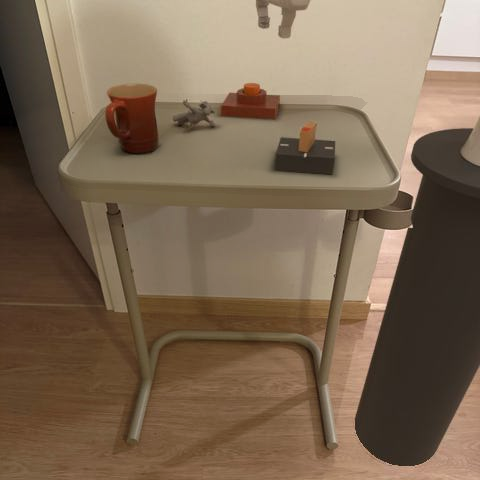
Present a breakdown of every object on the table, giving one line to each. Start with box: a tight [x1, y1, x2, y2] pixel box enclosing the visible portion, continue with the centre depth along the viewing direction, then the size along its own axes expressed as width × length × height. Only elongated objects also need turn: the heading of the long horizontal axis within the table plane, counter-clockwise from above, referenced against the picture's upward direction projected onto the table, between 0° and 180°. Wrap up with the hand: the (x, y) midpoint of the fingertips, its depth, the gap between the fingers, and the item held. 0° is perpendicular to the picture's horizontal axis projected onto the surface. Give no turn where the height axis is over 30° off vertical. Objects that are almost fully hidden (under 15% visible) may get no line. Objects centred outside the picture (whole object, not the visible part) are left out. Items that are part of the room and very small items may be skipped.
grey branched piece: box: [172, 97, 217, 132], centre depth 95 cm, size 10×6×9 cm
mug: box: [104, 83, 159, 155], centre depth 84 cm, size 12×9×10 cm
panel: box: [274, 136, 336, 176], centre depth 83 cm, size 10×9×3 cm
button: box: [243, 82, 261, 94], centre depth 103 cm, size 4×4×2 cm
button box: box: [220, 87, 281, 120], centre depth 105 cm, size 12×10×4 cm
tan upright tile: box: [298, 121, 317, 152], centre depth 80 cm, size 5×2×4 cm, turn 159°
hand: (273, 32), depth 86 cm, fingers open, 8 cm apart
